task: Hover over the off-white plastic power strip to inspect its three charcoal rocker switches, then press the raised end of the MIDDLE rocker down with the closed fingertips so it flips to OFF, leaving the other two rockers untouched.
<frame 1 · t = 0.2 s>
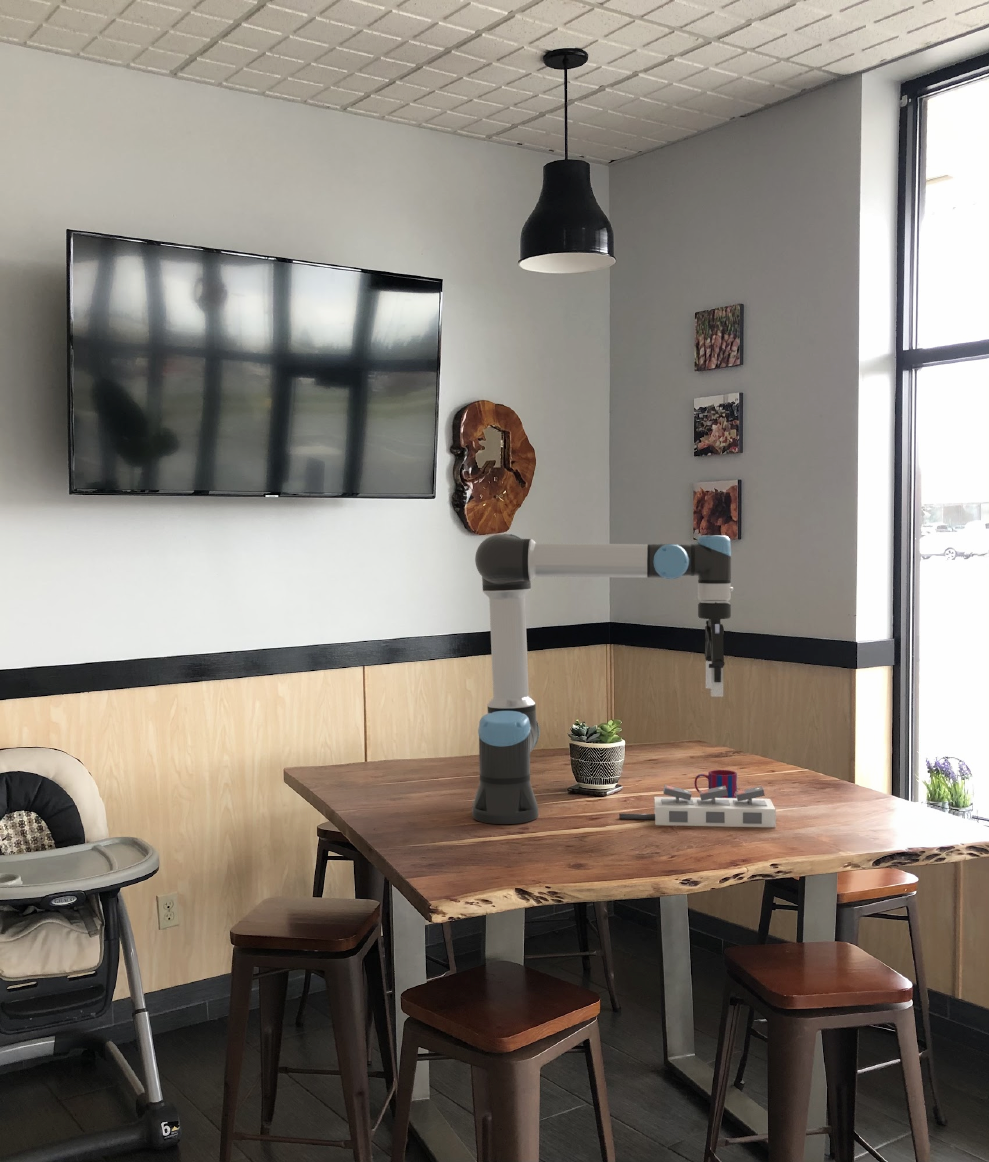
hand: (714, 692, 262), 27 cm above the table, fingers open, 13 cm apart
rocker left: (677, 792, 253), point 6 cm above the table, hinge at 13.0°
strip: (713, 820, 252), on the table
rocker mid: (713, 793, 252), point 6 cm above the table, hinge at -13.0°
mug: (715, 801, 272), on the table
rocker right: (749, 793, 251), point 6 cm above the table, hinge at -13.0°
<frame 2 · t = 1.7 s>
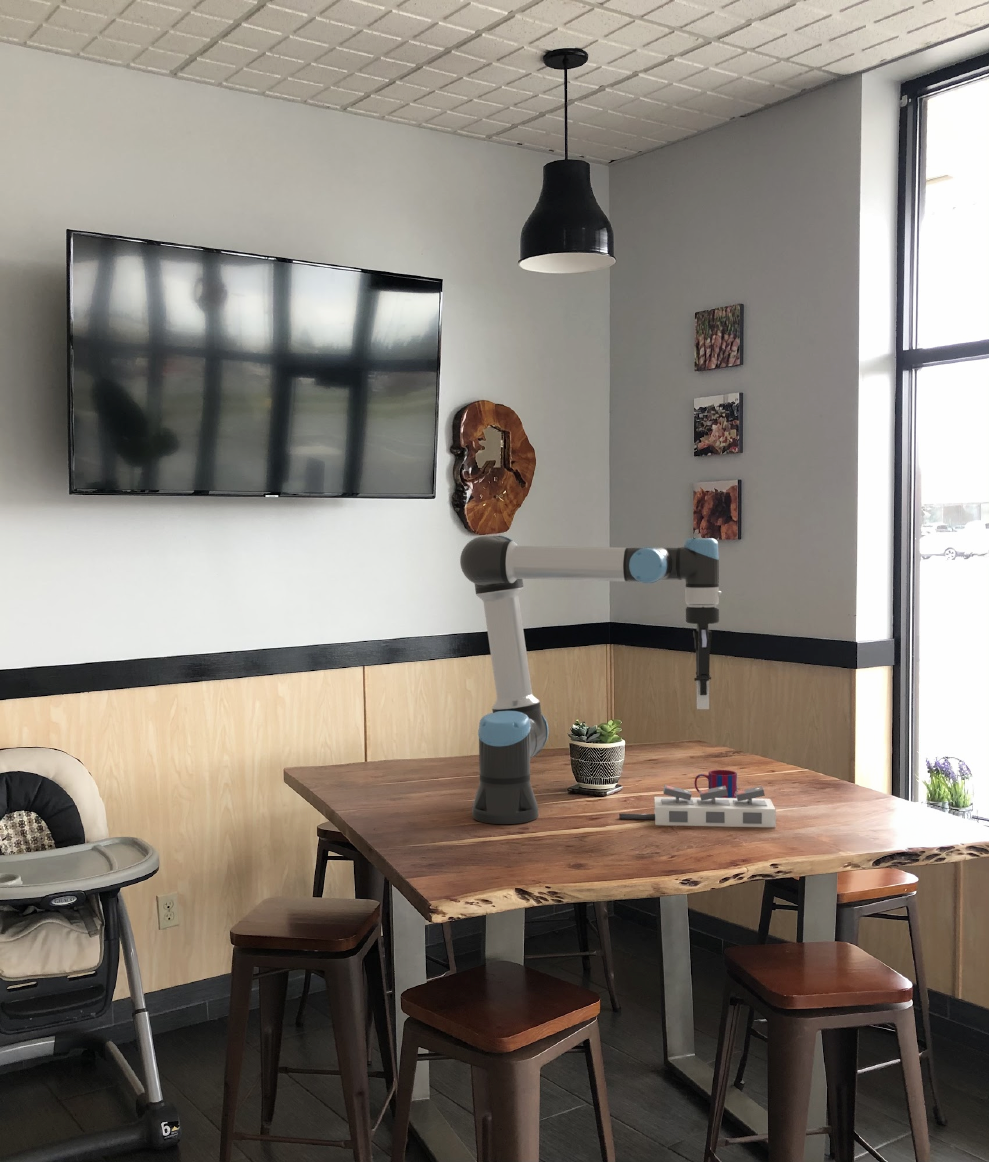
hand: (703, 708, 257), 24 cm above the table, fingers closed
nothing on the table moved.
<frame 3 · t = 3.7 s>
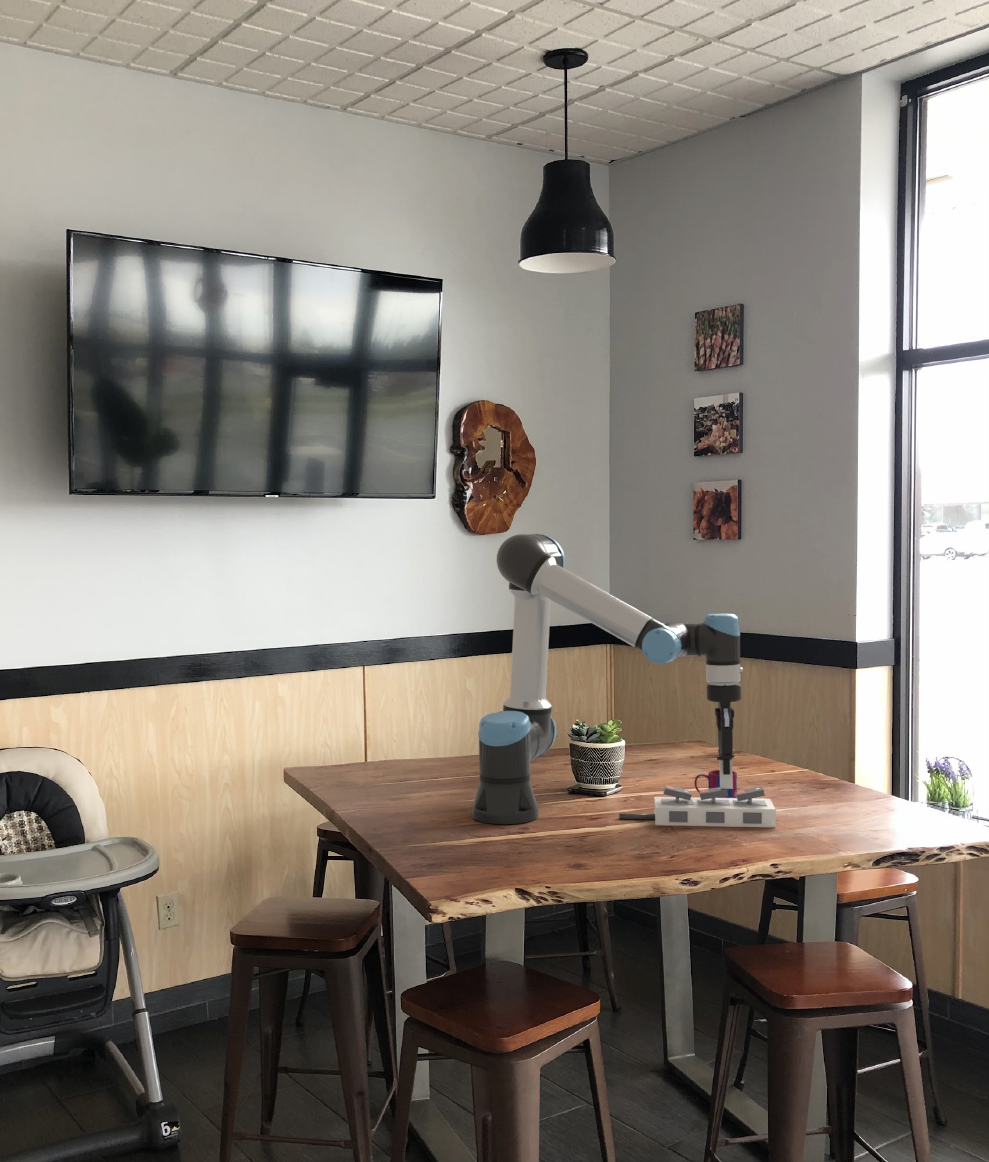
hand: (726, 787, 251), 7 cm above the table, fingers closed
rocker mid: (713, 793, 252), point 6 cm above the table, hinge at -9.4°, touching gripper
everything else where it was.
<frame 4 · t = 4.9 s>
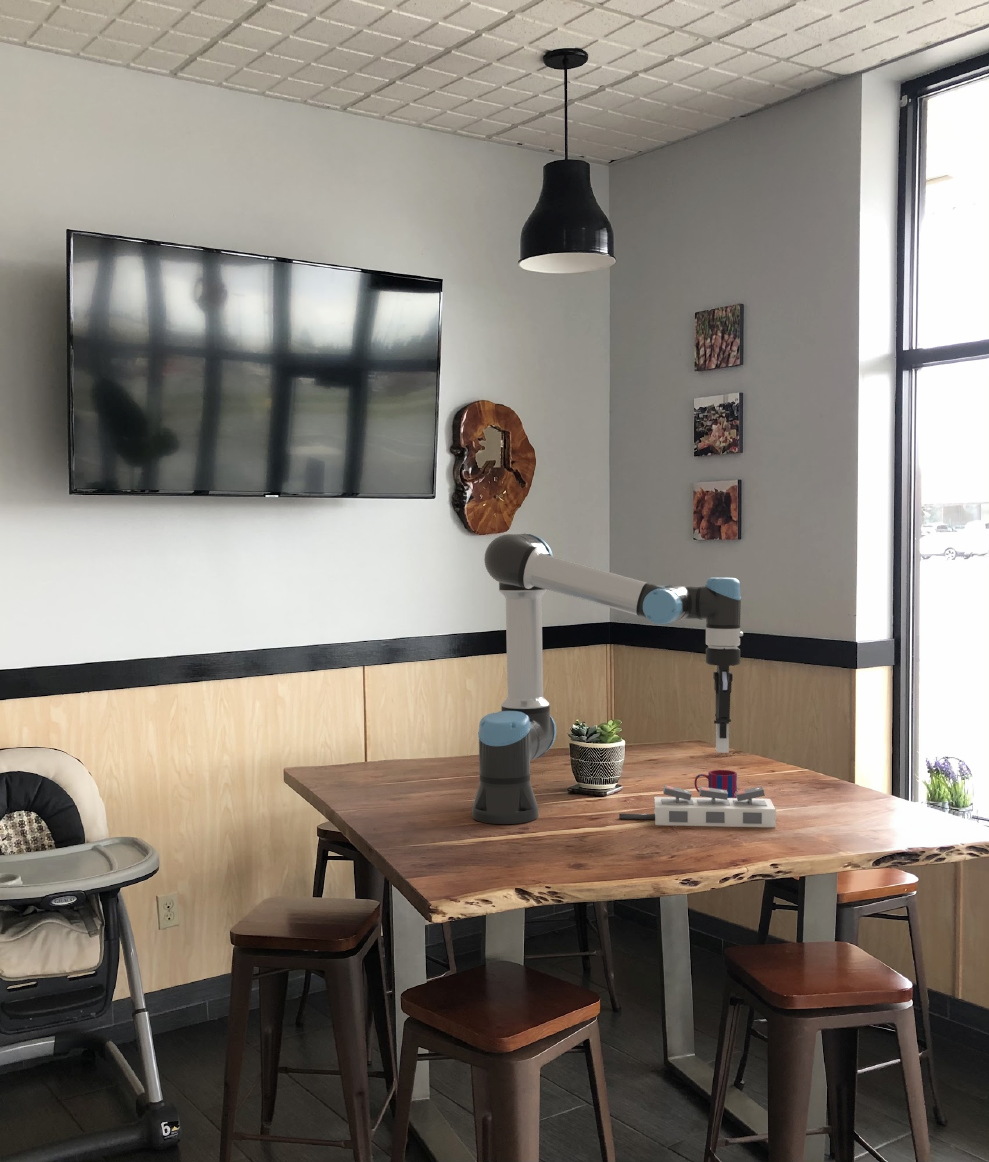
hand: (722, 751, 251), 16 cm above the table, fingers closed
rocker mid: (713, 793, 252), point 6 cm above the table, hinge at 7.0°
everything else where it was.
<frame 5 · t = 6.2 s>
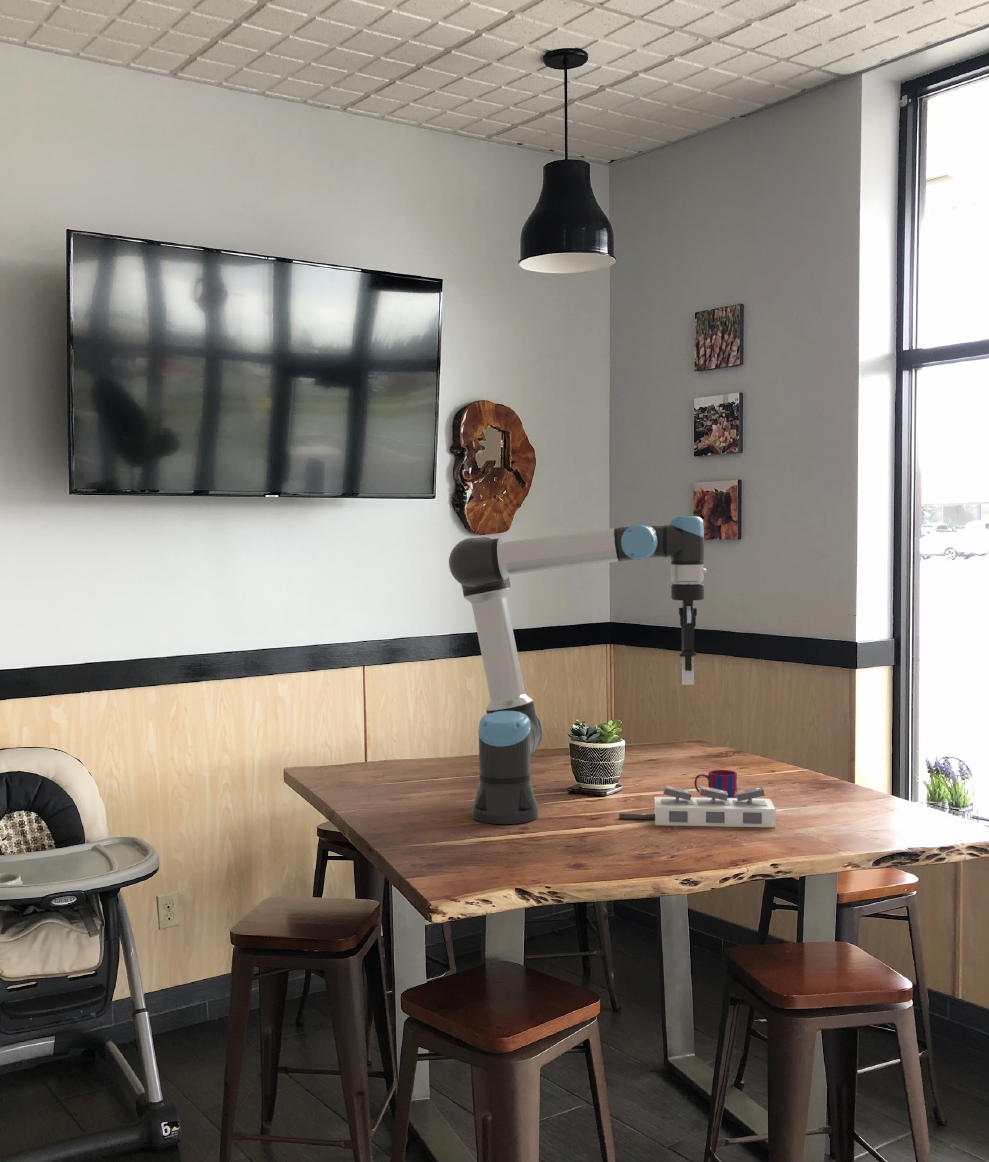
hand: (688, 684, 261), 29 cm above the table, fingers closed
rocker mid: (713, 793, 252), point 6 cm above the table, hinge at 11.7°
everything else where it was.
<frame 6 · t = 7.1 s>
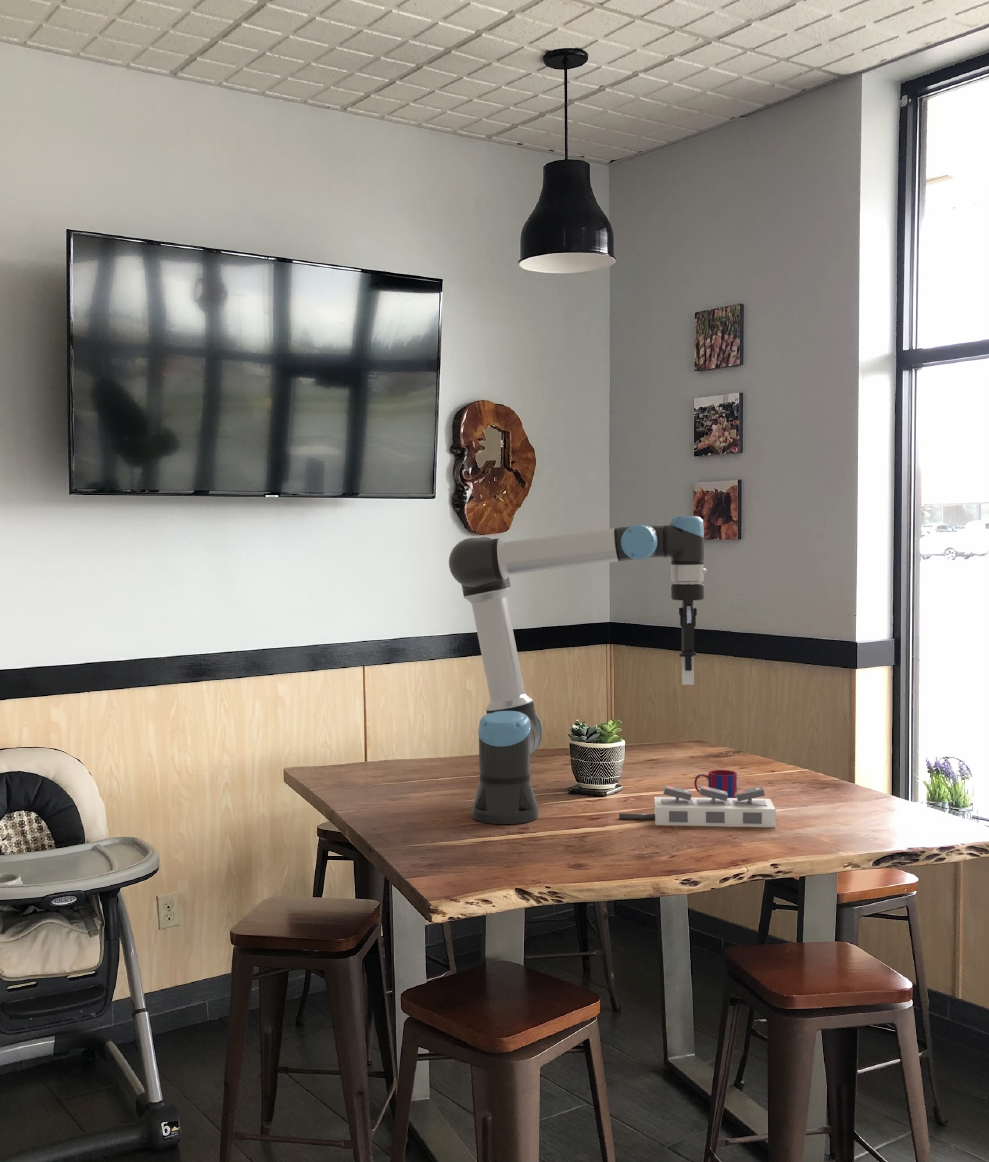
hand: (688, 684, 261), 29 cm above the table, fingers closed
rocker mid: (713, 793, 252), point 6 cm above the table, hinge at 13.0°
everything else where it was.
at the end: rocker mid at +13° (first picture: -13°); rocker left at +13° (first picture: +13°); rocker right at -13° (first picture: -13°) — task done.
